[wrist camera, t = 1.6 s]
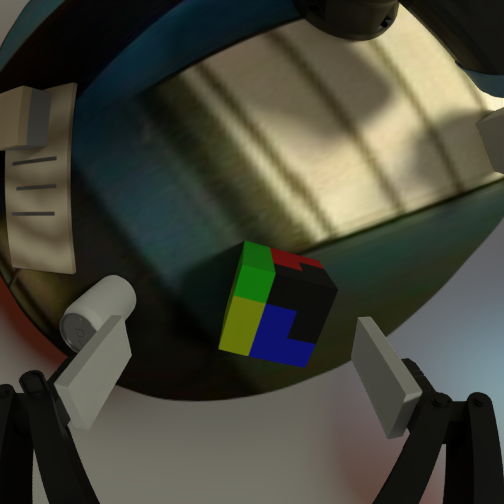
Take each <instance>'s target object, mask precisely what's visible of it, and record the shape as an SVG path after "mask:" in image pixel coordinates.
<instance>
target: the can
mask: <svg viewBox="0 0 504 504" xmlns="http://www.w3.org/2000/svg"><path fill="white" fill-rule="evenodd" d="M135 305H136V295H135V292H134V290H133V288H132V286H131V285H130V284H129V283H128V282H127V281H126V280H125V279H123V278H121V277H119V276H116V275H110V276H107V277H105V278H103V279H102V280H100V281H99V282H98V283H97V284H95V285H94V286H93V287H92V288H90V289H89V290H88V291H87V292H85V293H84V294H83V295H82V296H81V297H79V298H78V299H77V300H76V301H75V302H74V303H72V304H71V305H70V306H69V307H68V308H67V309H66V311H65V313H64V316H63V317H62V319H61V321H60V332H61V335H62V337H63V339H64V341H65V342H66V344H67V345H68V346H69V347H70V348H71V349H72V350H74V351H75V352H77V353H79V352H80V351H81V350H82V349H83V347H84V346H85V345H86V344H87V343H88V342H89V340H90V339H91V338H92V337H93V336H94V335H95V333H96V332H97V331H98V330H99V329H100V328H101V326H102V325H103V324H104V323H105V322H106V321H107V320H108V318H109V317H110V316H111V315H121V316H123V317H124V322H125V320H126V319H127V318H128V316H129V315H130V314H131V312H132V311H133V310H134V308H135Z"/></svg>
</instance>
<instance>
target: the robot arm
mask: <svg viewBox="0 0 504 504" xmlns="http://www.w3.org/2000/svg"><path fill="white" fill-rule="evenodd" d="M292 1H293V3H294V5H295V7H296V8H297V10H298V11H299V12H300V14H301V15H302V16H303V17H304V18H305V19H306V20H307V21H309V22H310V23H311V24H312V25H314V26H315V27H317V28H318V29H320V30H322V31H324V32H326V33H328V34H331V35H333V36H336V37H339V38H343V39H348V40H369V39H373V38H376V37H378V36H380V35H381V34H383V33H384V32H385V31H386V30H387V29H388V28H389V27H390V26H391V25H392V24H393V23H394V21H395V19H396V16H397V12H398V8H399V3H400V4H401V5H403V6H404V7H405V8H406V9H407V10H408V11H409V12H410V13H411V14H412V15H413V16H414V17H415V18H416V19H417V20H418V21H419V22H420V23H421V24H422V25H423V26H424V27H425V28H426V29H427V30H428V31H429V32H430V33H431V34H432V35H433V36H434V37H435V38H436V39H437V40H438V42H439V43H440V44H441V45H442V46H443V47H444V48H445V49H446V51H447V52H448V53H449V54H450V55H451V56H452V58H453V59H454V60H455V63H456V64H457V66H458V67H459V68H460V69H462V70H463V71H464V72H465V73H466V74H467V75H468V76H469V77H470V79H471V80H472V81H473V82H474V84H475V85H476V86H477V87H478V88H479V89H480V90H481V91H483V92H485V93H487V94H489V95H491V96H494V97H499V98H504V0H292ZM131 356H132V355H131V350H130V346H129V341H128V337H127V332H126V327H125V322H124V317H123V316H121V315H111V316H110V317H109V318H108V320H107V321H106V322H105V323H104V324H103V325H102V326H101V328H100V329H99V330H98V331H97V332H96V333H95V335H94V336H93V337H92V338H91V339H90V340H89V342H88V343H87V344H86V345H85V346H84V347H83V349H82V350H81V351H80V352H79V353H78V355H74V354H73V355H71V356H70V357H68V358H67V359H65V361H64V362H63V363H62V364H61V366H59V368H58V369H57V371H55V372H54V374H53V375H52V376H51V377H50V378H49V380H48V381H47V382H46V379H45V377H44V375H43V373H42V372H40V371H38V370H32V371H28V372H26V373H24V374H23V375H22V376H21V377H20V379H19V383H20V385H21V387H22V389H23V391H24V393H16V392H15V390H14V388H13V386H11V385H10V384H2V385H0V504H33V503H32V502H33V500H32V471H33V451H34V450H35V454H36V459H37V463H38V467H39V471H40V474H41V479H42V482H43V486H44V489H45V492H46V495H47V499H48V501H49V504H100V503H99V501H98V499H97V497H96V495H95V492H94V490H93V488H92V486H91V484H90V482H89V479H88V477H87V474H86V472H85V470H84V468H83V465H82V462H81V460H80V457H79V455H78V452H77V449H76V447H75V444H74V441H73V438H72V435H71V432H70V429H69V428H68V426H67V424H68V423H69V421H70V420H71V421H72V423H73V425H74V427H75V428H77V429H80V430H84V431H87V432H88V431H89V429H90V427H91V426H92V424H93V422H94V420H95V418H96V417H97V415H98V413H99V411H100V409H101V408H102V406H103V404H104V402H105V400H106V399H107V397H108V395H109V393H110V392H111V390H112V388H113V386H114V385H115V383H116V381H117V380H118V378H119V376H120V374H121V373H122V371H123V369H124V368H125V366H126V364H127V362H128V361H129V359H130V357H131ZM351 359H352V361H353V363H354V366H355V368H356V370H357V372H358V374H359V376H360V378H361V381H362V383H363V385H364V387H365V389H366V392H367V394H368V396H369V398H370V400H371V403H372V405H373V407H374V409H375V412H376V414H377V416H378V418H379V421H380V423H381V425H382V428H383V430H384V432H385V435H386V437H387V439H392V438H396V437H401V436H403V434H404V432H405V430H406V428H408V430H409V432H410V435H409V437H408V439H407V440H406V442H405V444H404V446H403V449H402V451H401V453H400V455H399V457H398V459H397V461H396V463H395V465H394V467H393V469H392V471H391V473H390V474H389V476H388V478H387V480H386V482H385V483H384V485H383V487H382V488H381V490H380V492H379V494H378V495H377V497H376V499H375V500H374V502H373V503H372V504H419V502H420V500H421V498H422V495H423V493H424V491H425V489H426V486H427V484H428V481H429V479H430V476H431V474H432V471H433V469H434V466H435V463H436V460H437V458H438V455H439V452H440V449H441V446H442V444H446V469H445V485H444V496H443V504H504V477H503V476H504V475H503V464H502V456H501V448H500V442H499V436H498V430H497V424H496V419H495V414H494V409H493V404H492V401H491V399H490V398H489V397H488V396H487V395H486V394H483V393H480V392H474V393H472V394H470V395H469V397H468V398H467V401H452V399H451V398H450V397H449V396H448V395H446V394H444V393H439V392H436V391H435V389H434V388H433V387H432V385H431V384H430V382H429V381H428V380H427V378H426V377H425V376H424V374H423V373H422V371H420V368H419V367H418V366H417V365H416V363H415V362H413V361H411V360H410V359H409V358H406V359H400V358H399V356H398V355H397V353H396V352H395V350H394V349H393V348H392V346H391V345H390V343H389V342H388V340H387V339H386V337H385V336H384V335H383V333H382V332H381V330H380V329H379V328H378V326H377V325H376V323H375V322H374V321H373V319H372V318H371V317H358V321H357V327H356V333H355V339H354V344H353V350H352V355H351Z"/></svg>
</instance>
